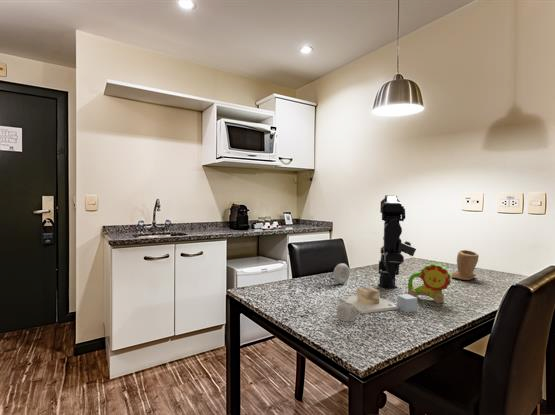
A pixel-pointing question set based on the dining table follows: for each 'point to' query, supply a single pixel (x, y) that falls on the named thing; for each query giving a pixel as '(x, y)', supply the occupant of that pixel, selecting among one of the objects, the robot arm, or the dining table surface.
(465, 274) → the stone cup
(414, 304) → the slate brick
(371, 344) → the dining table surface
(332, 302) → the dining table surface
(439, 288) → the toy lion
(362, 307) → the building plate
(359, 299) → the maple brick
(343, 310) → the die
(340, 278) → the donut
